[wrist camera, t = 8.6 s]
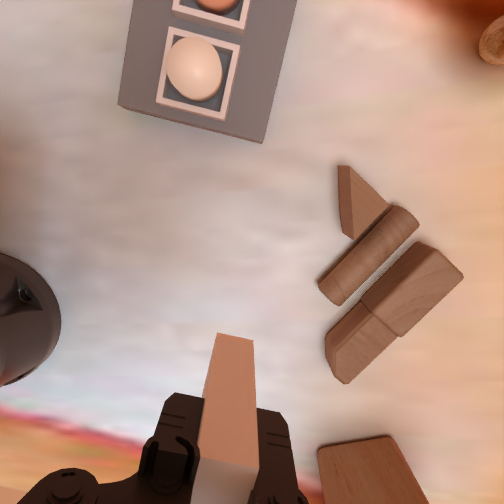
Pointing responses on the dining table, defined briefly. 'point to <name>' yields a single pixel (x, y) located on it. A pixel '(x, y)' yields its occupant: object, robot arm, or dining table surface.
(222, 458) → the robot arm
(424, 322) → the dining table surface
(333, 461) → the block
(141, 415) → the dining table surface
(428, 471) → the dining table surface
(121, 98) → the button panel
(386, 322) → the wooden block set
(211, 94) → the cream button
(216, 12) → the terracotta button
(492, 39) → the decorative mushroom
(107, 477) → the dining table surface
